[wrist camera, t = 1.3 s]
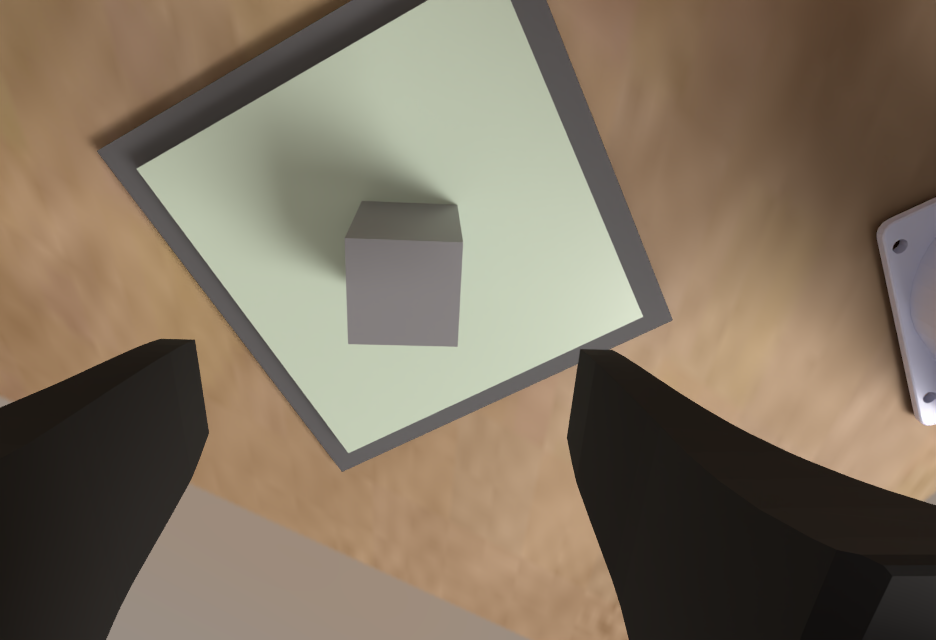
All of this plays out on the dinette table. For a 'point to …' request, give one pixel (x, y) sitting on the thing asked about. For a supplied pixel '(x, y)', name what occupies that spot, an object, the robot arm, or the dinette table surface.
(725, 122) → the dinette table surface
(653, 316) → the mat
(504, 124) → the sheet
